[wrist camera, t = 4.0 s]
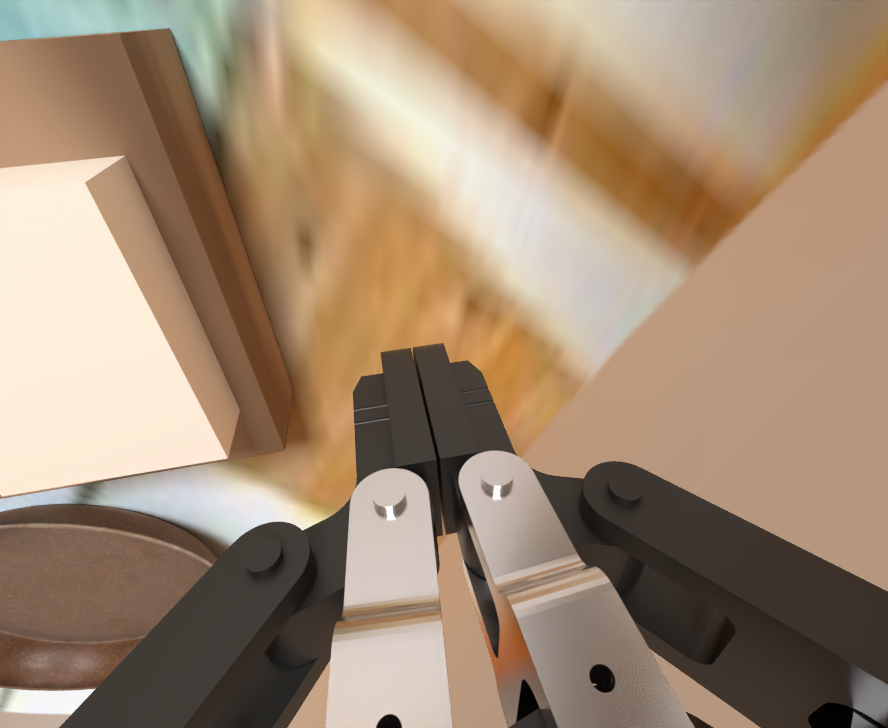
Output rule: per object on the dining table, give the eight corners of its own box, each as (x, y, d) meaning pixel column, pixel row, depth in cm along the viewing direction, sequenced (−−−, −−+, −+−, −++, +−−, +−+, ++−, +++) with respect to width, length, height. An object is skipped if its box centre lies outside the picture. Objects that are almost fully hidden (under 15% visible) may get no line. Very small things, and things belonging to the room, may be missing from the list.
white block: (125, 155, 12) (85, 182, 10) (239, 410, 17) (227, 458, 16) (-180, 186, 11) (-286, 221, 9) (40, 442, 17) (2, 496, 15)
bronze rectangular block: (169, 28, 14) (118, 33, 10) (292, 388, 22) (284, 450, 19) (-299, 64, 12) (-516, 80, 9) (23, 430, 21) (-33, 504, 18)
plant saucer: (134, 436, 23) (109, 486, 20) (296, 594, 34) (292, 638, 31) (-202, 542, 23) (-266, 605, 21) (67, 664, 34) (46, 714, 32)
